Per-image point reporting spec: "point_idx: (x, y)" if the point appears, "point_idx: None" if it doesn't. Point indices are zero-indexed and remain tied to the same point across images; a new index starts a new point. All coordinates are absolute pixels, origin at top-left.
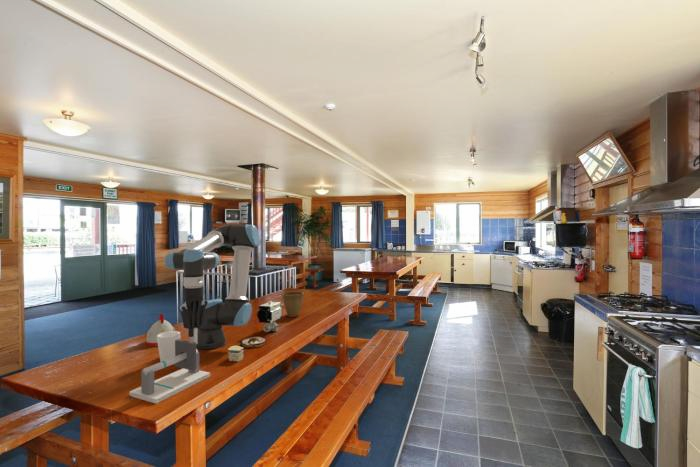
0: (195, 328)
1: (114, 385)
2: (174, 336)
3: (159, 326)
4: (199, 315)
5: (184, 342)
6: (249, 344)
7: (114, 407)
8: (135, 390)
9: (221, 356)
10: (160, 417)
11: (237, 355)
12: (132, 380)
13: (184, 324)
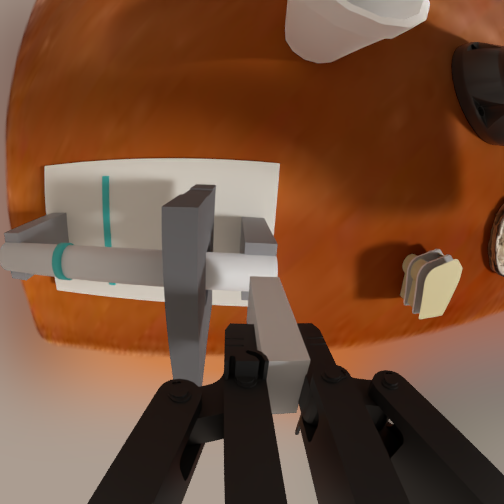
0: (276, 409)
1: (88, 46)
2: (360, 17)
3: None
4: (421, 473)
5: (167, 320)
6: (495, 250)
7: (13, 198)
8: (54, 175)
9: (430, 202)
10: (50, 339)
11: (412, 302)
12: (130, 52)
13: (143, 434)
